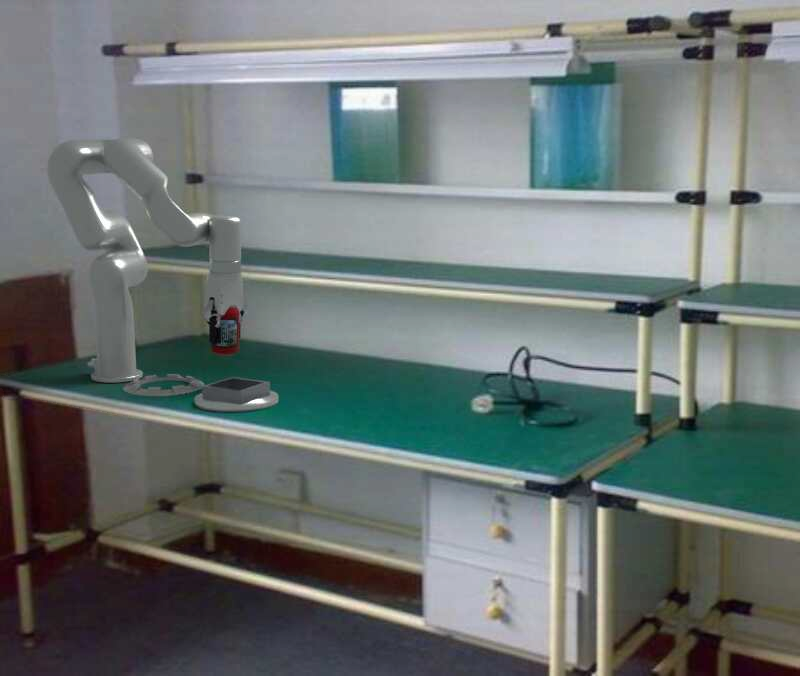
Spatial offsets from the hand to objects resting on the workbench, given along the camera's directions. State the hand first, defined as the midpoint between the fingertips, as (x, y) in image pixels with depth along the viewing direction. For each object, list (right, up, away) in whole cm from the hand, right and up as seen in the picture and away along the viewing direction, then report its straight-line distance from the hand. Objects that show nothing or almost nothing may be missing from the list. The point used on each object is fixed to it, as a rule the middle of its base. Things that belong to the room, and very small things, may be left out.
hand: (225, 339), depth 275 cm
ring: (-15, -12, 0) cm, 19 cm away
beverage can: (0, -3, +1) cm, 4 cm away
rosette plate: (+5, -14, -15) cm, 21 cm away
